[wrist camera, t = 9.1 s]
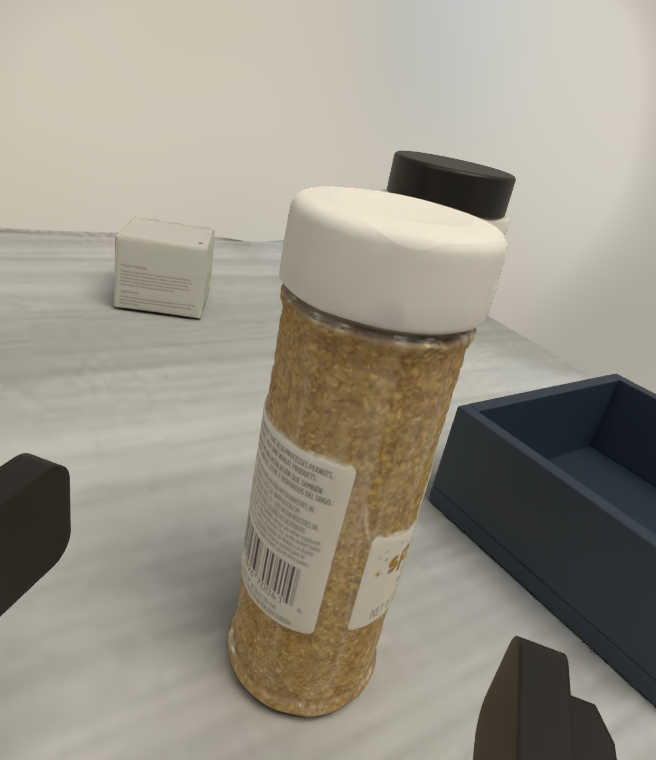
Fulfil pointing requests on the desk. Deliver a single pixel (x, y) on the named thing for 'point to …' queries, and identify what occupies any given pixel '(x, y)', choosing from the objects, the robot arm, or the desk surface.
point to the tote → (567, 507)
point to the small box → (163, 267)
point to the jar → (453, 185)
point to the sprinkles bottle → (351, 430)
